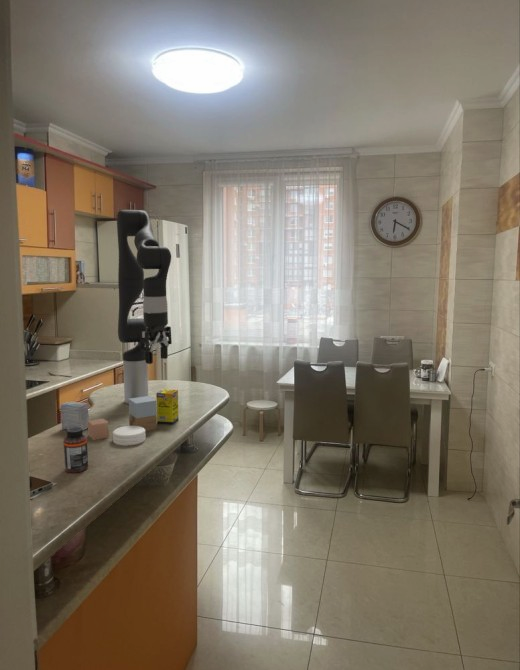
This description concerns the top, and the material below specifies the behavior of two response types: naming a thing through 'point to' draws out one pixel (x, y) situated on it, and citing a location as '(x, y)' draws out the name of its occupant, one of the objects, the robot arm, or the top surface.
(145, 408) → the tower top block
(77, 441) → the supplement bottle
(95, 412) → the top surface
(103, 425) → the cube
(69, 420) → the medicine box
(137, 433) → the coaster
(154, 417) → the tower base block
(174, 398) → the supplement box
